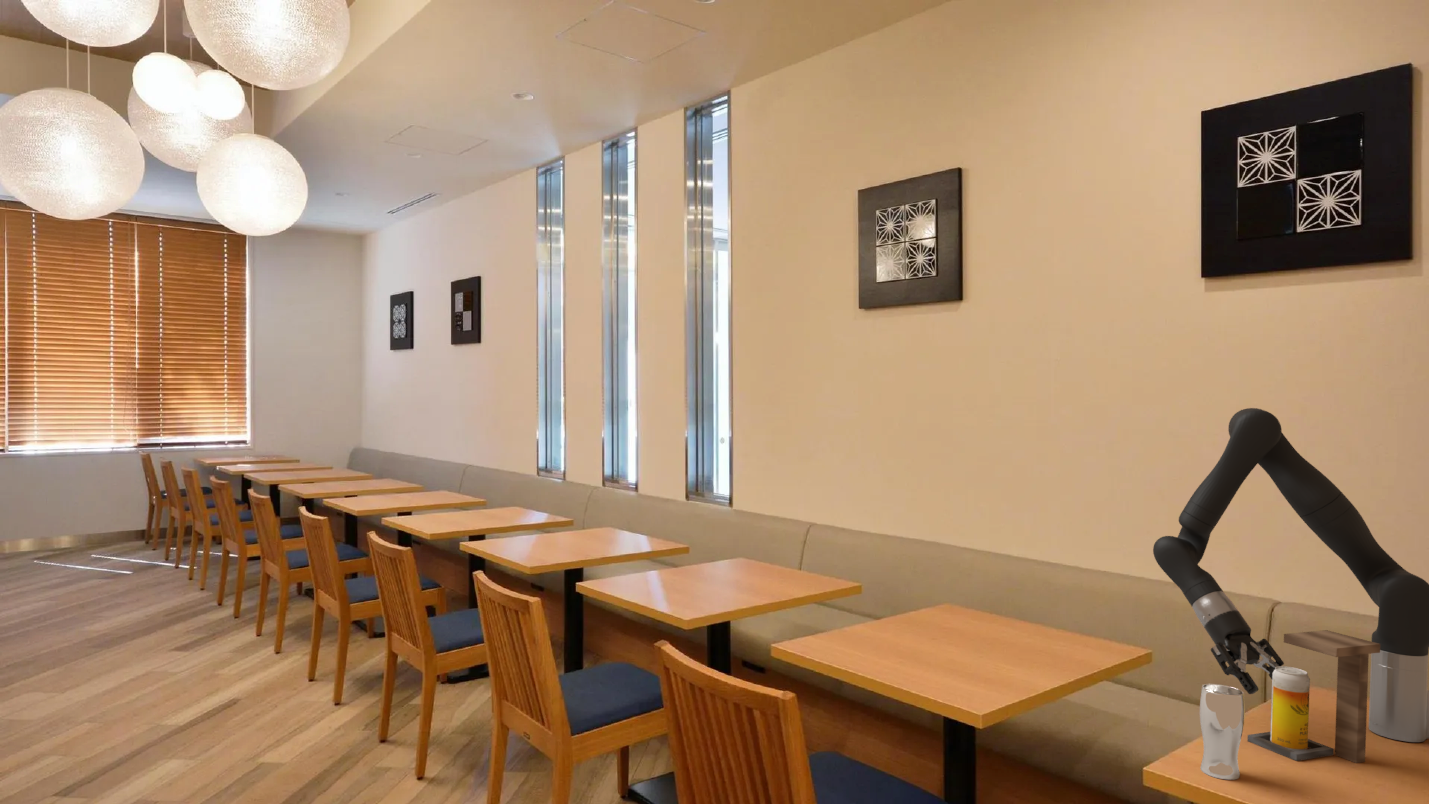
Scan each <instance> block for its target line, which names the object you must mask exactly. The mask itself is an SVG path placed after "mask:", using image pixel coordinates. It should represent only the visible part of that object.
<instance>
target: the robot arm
mask: <svg viewBox="0 0 1429 804" xmlns="http://www.w3.org/2000/svg"><path fill="white" fill-rule="evenodd" d="M1227 431H1228V435H1229V440H1228V442H1227V444H1226V447H1225V448H1224V450H1223V453H1222V455H1221V456H1220V458H1219V460H1218V462H1217V463H1216V464H1215V465H1214V467H1213V469H1212V470H1211V471H1210V472H1209V474H1208V475H1206V477H1205V478H1204V480H1203V481H1202V482H1201V483H1200V484H1199V485H1198V486H1197V488H1196V489H1195V491H1194V492H1193V493H1192V495H1191V497H1190V498H1189V499H1188V501H1187V503H1186V504H1185V506H1184V508H1183V510H1182V511H1181V512H1180V514H1179V516H1178V522H1179V524H1180V525H1181V527H1180V531H1179V533H1178V535H1177V537H1176V536H1173V535H1165V536H1161V537H1159V538H1158V539H1156V541H1155V543H1154V544H1153V547H1152V548H1153V549H1152V552H1153V553H1152V554H1153V556H1154V560H1155V561H1156V563H1157V564H1158V566H1159V568H1160V569H1161V570H1162V571H1163V572H1164V573H1165V574H1166V576H1168V578H1169V579H1170V580H1171V581H1172V582H1173V583H1174V584H1175V585H1176V586H1177V587H1178V588H1179V589H1180V590H1181V592H1182V594H1183V595H1184V597H1185V599H1186V600H1187V601H1188V603H1189V604H1190V606H1191V608H1192V609H1193V611H1194V614H1195V615H1196V618H1197V619H1198V620H1199V622H1200V624H1201V625H1202V626H1203V628H1204V629H1205V631H1206V632H1207V635H1209V637H1210V638H1211V640H1212V642H1213V643H1214V646H1212V647H1211V648H1210V651H1211V653H1212V655H1213V657H1214V659H1216V661H1217V663H1218V665H1219V666H1220V668H1221V670H1222V671H1223V673H1224V674H1225V675H1226V676H1230V675H1232V676H1233V677H1234V678H1237V680H1238V681H1239V683H1240V684H1241V686H1242V688H1243V689H1244V690H1245V691H1246V692H1247V694H1248V695H1253V694H1255V693H1256V692H1258V691H1259V686H1258V685H1257V684H1256V682H1255V681H1254V679H1253V677H1252V676H1251V675H1250V673H1249V672H1248V671H1247V667H1246V665H1250V666H1251V665H1253V666H1254V667H1256V668H1259V669H1262V670H1263V671H1264V672H1266V673H1267V674H1268V676H1269V678H1270V679H1271V680H1272V673H1273V671H1274V670H1275V667H1278V666H1284V665H1285V662H1284V660H1283V659H1282V658H1281V656H1279V654H1278V653H1277V652H1276V650H1275V649H1274V647H1273V646H1272V645H1271V644H1270V642H1269V641H1268V640H1267V639H1265V638H1262V639H1261V640H1258V641H1256V640H1255V639H1253V638H1252V636H1251V632H1252V629H1251V627H1250V625H1249V624H1248V622H1247V621H1246V620H1245V618H1244V617H1243V615H1242V614H1241V612H1240V611H1239V610H1238V608H1237V607H1236V606H1235V604H1234V603H1233V601H1232V600H1231V599H1230V597H1228V595H1227V594H1226V593H1225V592H1224V591H1223V589H1222V588H1221V586H1220V585H1219V584H1218V582H1217V581H1216V579H1215V578H1214V577H1213V575H1211V573H1210V572H1208V571H1206V570H1205V569H1203V568H1202V567H1200V565H1199V563H1200V562H1201V560H1202V559H1203V557H1204V554H1205V552H1206V549H1207V546H1208V544H1209V541H1210V537H1211V535H1212V532H1213V530H1214V529H1215V527H1216V526H1217V525H1218V523H1219V522H1220V519H1221V518H1222V517H1223V514H1224V513H1226V510H1227V509H1228V507H1229V506H1230V503H1231V502H1232V501H1233V498H1234V497H1235V495H1236V494H1237V492H1238V491H1239V489H1240V488H1241V486H1242V484H1243V483H1244V482H1245V480H1246V479H1247V477H1248V476H1249V475H1250V474H1251V473H1252V471H1253V470H1254V468H1255V467H1256V466H1257V465H1259V466H1260V468H1262V469H1263V470H1264V472H1265V473H1266V474H1267V475H1268V476H1269V477H1270V479H1271V480H1272V482H1273V483H1274V484H1275V486H1276V488H1277V489H1278V491H1279V492H1280V493H1281V494H1282V496H1283V497H1284V499H1285V500H1286V501H1287V503H1288V504H1289V506H1291V509H1293V510H1294V512H1295V513H1296V514H1297V515H1298V516H1299V518H1300V519H1301V520H1302V521H1303V522H1304V523H1305V524H1306V526H1307V527H1308V528H1309V529H1310V530H1311V531H1312V532H1313V533H1314V534H1315V535H1316V537H1318V538H1319V539H1320V540H1321V542H1323V543H1324V545H1326V546H1327V548H1328V549H1329V550H1331V551H1332V552H1333V553H1334V554H1335V555H1337V556H1338V557H1339V558H1340V559H1341V560H1342V561H1343V562H1344V563H1345V565H1346V566H1347V567H1348V568H1349V570H1350V571H1351V572H1352V574H1353V575H1354V576H1355V577H1356V579H1357V581H1358V582H1359V583H1360V585H1361V586H1362V587H1363V589H1364V591H1365V592H1366V593H1367V595H1368V596H1369V598H1370V599H1371V600H1372V602H1373V604H1375V605H1376V606H1377V607H1378V618H1377V620H1378V621H1377V627H1376V629H1375V630H1374V631H1373V632H1372V634H1371V642H1375V643H1379V644H1380V653H1371V654H1370V677H1369V679H1370V681H1369V682H1370V683H1369V684H1370V685H1369V707H1368V708H1369V709H1368V710H1369V711H1368V729H1369V731H1371V732H1372V733H1373V734H1376V735H1378V736H1381V737H1385V738H1388V739H1392V740H1395V741H1403V742H1409V743H1421V742H1422V743H1423V742H1425V741H1426V740H1427V739H1429V689H1428V681H1429V680H1428V679H1429V678H1428V677H1429V676H1428V675H1429V671H1428V670H1429V669H1428V668H1429V583H1428V582H1427V581H1426V580H1425V579H1423V578H1422V577H1420V576H1417V575H1415V574H1414V573H1411V572H1409V571H1408V570H1406V568H1403V567H1402V566H1401V565H1400V564H1399V562H1397V561H1395V559H1394V558H1393V557H1391V556H1390V554H1389V553H1388V552H1386V550H1384V549H1383V548H1382V546H1380V544H1379V543H1378V542H1377V540H1376V539H1375V537H1374V536H1373V534H1372V532H1371V530H1370V528H1369V527H1368V525H1367V523H1366V521H1365V520H1364V517H1363V516H1362V515H1361V513H1360V512H1359V511H1358V509H1357V507H1355V505H1354V504H1353V503H1352V501H1350V500H1349V498H1348V497H1346V495H1345V494H1344V493H1343V492H1342V491H1341V490H1340V489H1339V487H1337V486H1336V484H1334V483H1333V482H1332V481H1331V480H1330V479H1329V478H1328V477H1327V476H1326V475H1325V474H1323V473H1322V472H1321V471H1320V470H1319V469H1318V468H1317V467H1315V465H1312V464H1311V463H1310V461H1308V460H1307V459H1305V458H1304V457H1303V456H1302V455H1301V454H1300V453H1299V452H1298V451H1297V450H1296V448H1295V447H1294V446H1293V445H1292V444H1291V442H1290V441H1289V440H1288V438H1287V437H1286V436H1285V434H1284V433H1283V431H1282V424H1281V423H1280V421H1279V419H1278V417H1276V416H1275V415H1274V414H1273V413H1271V412H1269V411H1267V410H1265V409H1261V408H1255V407H1248V408H1244V409H1240V410H1238V411H1236V412H1235V413H1234V414H1233V415H1232V417H1230V420H1229V422H1228V430H1227ZM1272 658H1273V659H1272ZM1226 663H1227V664H1228V666H1227V664H1226ZM1246 671H1247V672H1246Z"/></svg>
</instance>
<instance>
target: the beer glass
mask: <svg viewBox="0 0 1429 804" xmlns="http://www.w3.org/2000/svg"><path fill="white" fill-rule="evenodd" d="M1199 701H1200V702H1199V722H1200V723H1199V724H1200V728H1201V729H1200V730H1201V736H1202V741H1203V743H1202V744H1203V755H1202V760H1201V764H1200V771H1201V772H1202V773H1204V774H1205V775H1207V776H1209V777H1212V778H1215V779H1220V780H1227V781H1233V780H1238V779H1239V778H1240V775H1241V774H1240V768H1239V761H1238V759H1239V758H1238V757H1239V749H1240V745H1241V740H1242V736H1243V732H1244V726H1245V715H1246V714H1245V713H1246V711H1245V710H1246V709H1245V692H1244V691H1243V690H1242V689H1239V688H1238V687H1235V686H1231V685H1227V684H1221V683H1205V684H1204V683H1203V684H1202V685H1201V694H1200V700H1199Z"/></svg>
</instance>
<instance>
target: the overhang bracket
mask: <svg viewBox="0 0 1429 804" xmlns="http://www.w3.org/2000/svg"><path fill="white" fill-rule="evenodd" d="M1283 643H1284V644H1288V645H1291V646H1295V647H1298V648H1303V649H1306V650H1310V651H1313V652H1316V653H1320V654H1324V655H1328V656H1331V657H1335V658H1337V671H1336V672H1337V675H1336V680H1337V681H1336V704H1335V706H1336V707H1335V709H1336V710H1335V734H1334V748H1333V747H1331V746H1328V745H1325V744H1323V743H1320V742H1317V741H1315V740H1312V739H1309V738H1308V748H1309V749H1308V748H1307V749H1305V750H1301V751H1293V750H1290V749H1288V748H1285V747H1283V746H1280V745H1278V744H1275V743H1273V742H1271V740H1270V733H1271V731H1267V732H1265V731H1264V732H1258V733H1251V734H1247V742H1249V743H1252V744H1254V745H1256V746H1259V747H1261V748H1264V749H1266V750H1268V751H1271V752H1273V753H1276V754H1278V755H1280V756H1283V757H1285V758H1288V759H1291V760H1293V761H1296V762H1299V761H1303V760H1304V761H1306V760H1311V759H1317V758H1318V759H1319V758H1323V757H1324V758H1325V757H1329V756H1334V755H1335V756H1337V757H1339V758H1341V759H1345V760H1347V761H1350V762H1353V763H1354V764H1359V763H1364V762H1366V744H1367V743H1366V742H1367V741H1366V740H1367V714H1368V712H1367V711H1368V685H1369V683H1368V682H1369V659H1370V658H1369V655H1371V653H1380V644H1379V643H1375V642H1372V640H1367V639H1363V638H1359V637H1355V636H1350V635H1348V634H1343V633H1339V632H1334V631H1331V630H1327V629H1326V630H1313V631H1302V632H1301V631H1300V632H1291V633H1284V634H1283Z"/></svg>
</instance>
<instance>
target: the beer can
mask: <svg viewBox="0 0 1429 804" xmlns="http://www.w3.org/2000/svg"><path fill="white" fill-rule="evenodd" d="M1310 680H1311V679H1310V677H1309V674H1308V672H1307V671H1306V670H1303V669H1301V668H1298V667H1292V666H1287V665H1285V666H1284V665H1282V666H1278V667H1275V670H1274V671H1273V673H1272V679H1271V681H1272V682H1271V701H1270V702H1271V705H1270V706H1271V707H1270V709H1271V710H1270V732H1271V733H1270V740H1271V741H1270V742H1273V743H1275V744H1278V745H1280V746H1283V747H1285V748H1288V749H1290V750H1293V751H1301V750H1307V749H1308V739H1309V719H1310V717H1309V716H1310V714H1309V713H1310V689H1311V687H1310V686H1311V681H1310Z"/></svg>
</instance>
